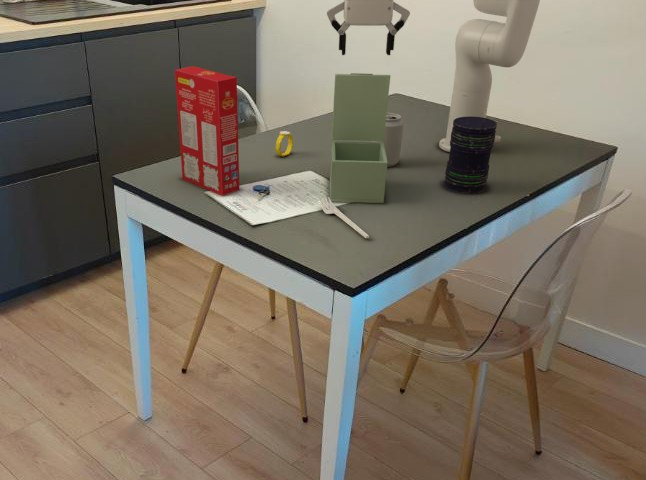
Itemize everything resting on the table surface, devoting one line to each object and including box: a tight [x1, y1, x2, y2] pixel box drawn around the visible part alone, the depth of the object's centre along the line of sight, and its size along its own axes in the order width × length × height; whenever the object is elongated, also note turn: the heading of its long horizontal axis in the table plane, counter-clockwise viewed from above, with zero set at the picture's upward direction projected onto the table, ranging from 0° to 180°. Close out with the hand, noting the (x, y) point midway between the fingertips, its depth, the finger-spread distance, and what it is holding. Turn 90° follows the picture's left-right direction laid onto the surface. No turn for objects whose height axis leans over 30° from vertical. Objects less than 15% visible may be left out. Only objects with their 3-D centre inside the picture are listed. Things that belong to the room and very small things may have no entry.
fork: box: [318, 196, 370, 239], centre depth 148 cm, size 3×20×2 cm, turn 24°
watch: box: [275, 130, 294, 157], centre depth 183 cm, size 6×3×6 cm, turn 144°
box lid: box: [331, 72, 391, 142], centre depth 161 cm, size 15×12×6 cm
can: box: [371, 112, 404, 168], centre depth 176 cm, size 8×8×12 cm
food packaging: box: [174, 65, 240, 196], centre depth 159 cm, size 15×5×25 cm, turn 44°
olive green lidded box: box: [329, 140, 388, 204], centre depth 161 cm, size 14×12×9 cm
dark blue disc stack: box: [443, 117, 498, 195], centre depth 162 cm, size 10×10×15 cm
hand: (365, 53), depth 151 cm, fingers open, 9 cm apart
